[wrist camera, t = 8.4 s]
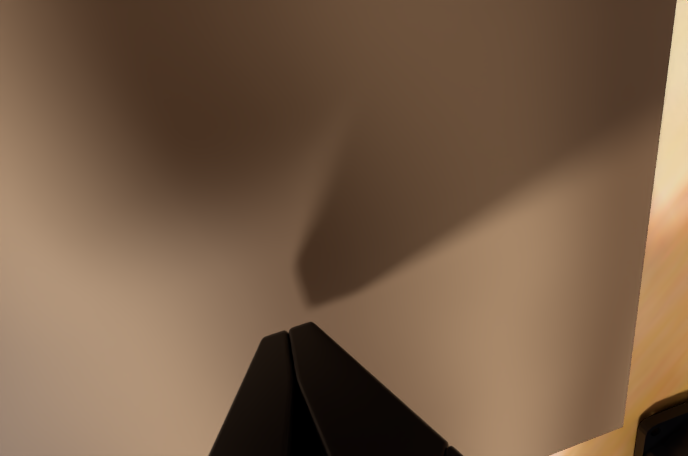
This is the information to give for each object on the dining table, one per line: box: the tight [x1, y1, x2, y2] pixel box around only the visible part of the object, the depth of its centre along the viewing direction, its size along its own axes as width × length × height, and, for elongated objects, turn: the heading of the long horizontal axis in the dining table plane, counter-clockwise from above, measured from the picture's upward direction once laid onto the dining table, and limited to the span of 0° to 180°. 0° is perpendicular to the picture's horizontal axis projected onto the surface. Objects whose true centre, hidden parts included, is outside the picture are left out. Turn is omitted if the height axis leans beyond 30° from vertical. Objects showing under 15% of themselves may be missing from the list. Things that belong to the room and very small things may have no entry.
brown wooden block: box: [0, 0, 677, 456], centre depth 10 cm, size 14×14×4 cm
